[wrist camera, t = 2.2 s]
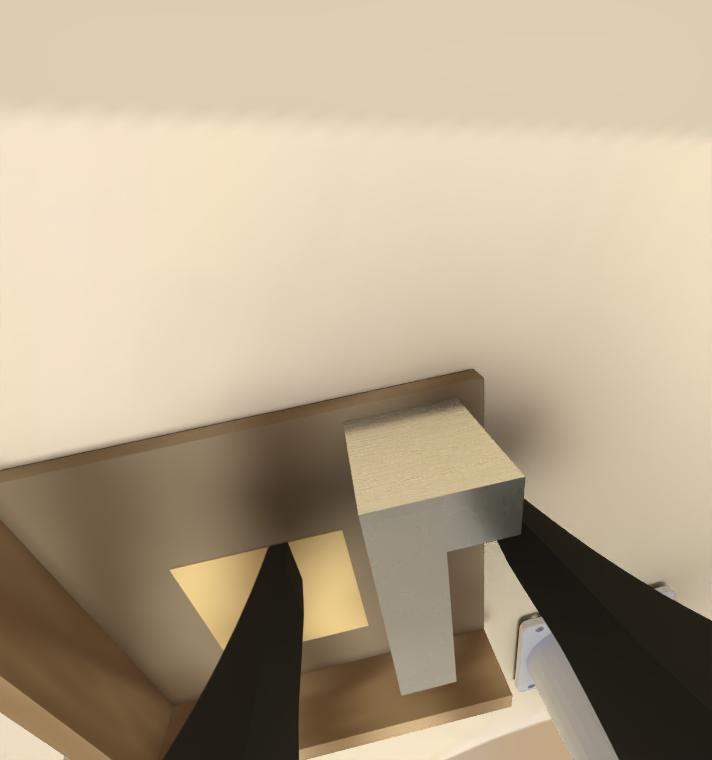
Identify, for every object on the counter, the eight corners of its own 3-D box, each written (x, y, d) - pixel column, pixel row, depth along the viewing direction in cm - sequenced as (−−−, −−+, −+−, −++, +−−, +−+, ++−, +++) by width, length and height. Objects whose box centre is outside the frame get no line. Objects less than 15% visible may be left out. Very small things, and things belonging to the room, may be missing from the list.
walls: (473, 369, 12) (535, 422, 8) (477, 624, 19) (511, 706, 16) (-42, 479, 11) (-190, 584, 8) (166, 701, 18) (135, 803, 15)
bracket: (343, 421, 11) (358, 515, 7) (456, 397, 11) (525, 476, 8) (379, 583, 15) (401, 695, 11) (463, 563, 15) (510, 667, 11)
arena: (473, 369, 12) (484, 379, 11) (476, 613, 18) (484, 629, 18) (-6, 472, 11) (-30, 490, 10) (179, 686, 18) (173, 707, 17)
